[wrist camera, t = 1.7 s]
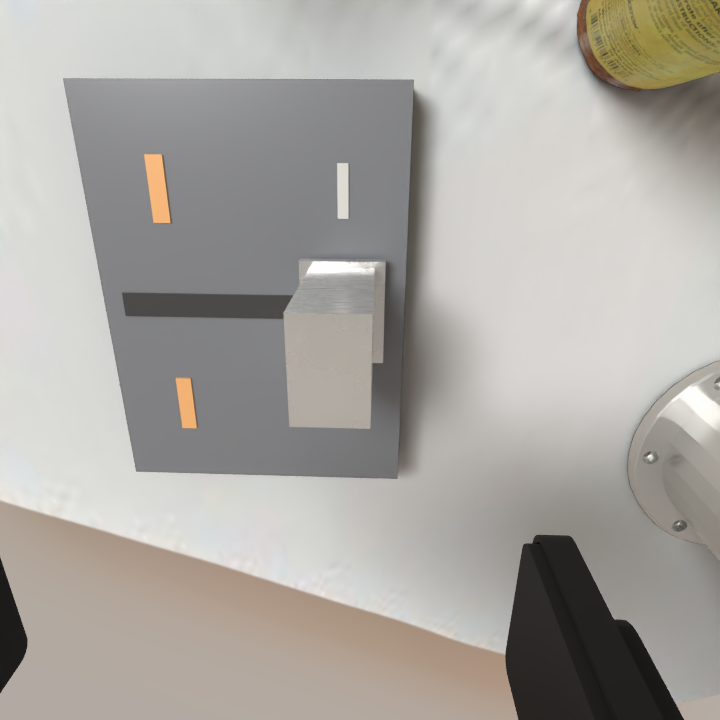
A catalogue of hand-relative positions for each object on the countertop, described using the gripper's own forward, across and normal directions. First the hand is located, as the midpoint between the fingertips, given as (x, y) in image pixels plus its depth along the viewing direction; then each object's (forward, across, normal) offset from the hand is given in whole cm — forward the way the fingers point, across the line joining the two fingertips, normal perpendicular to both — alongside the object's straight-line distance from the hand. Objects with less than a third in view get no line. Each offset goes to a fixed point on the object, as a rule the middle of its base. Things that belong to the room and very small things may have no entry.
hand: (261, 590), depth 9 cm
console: (+20, +4, 0) cm, 21 cm away
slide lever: (+17, 0, 0) cm, 17 cm away
